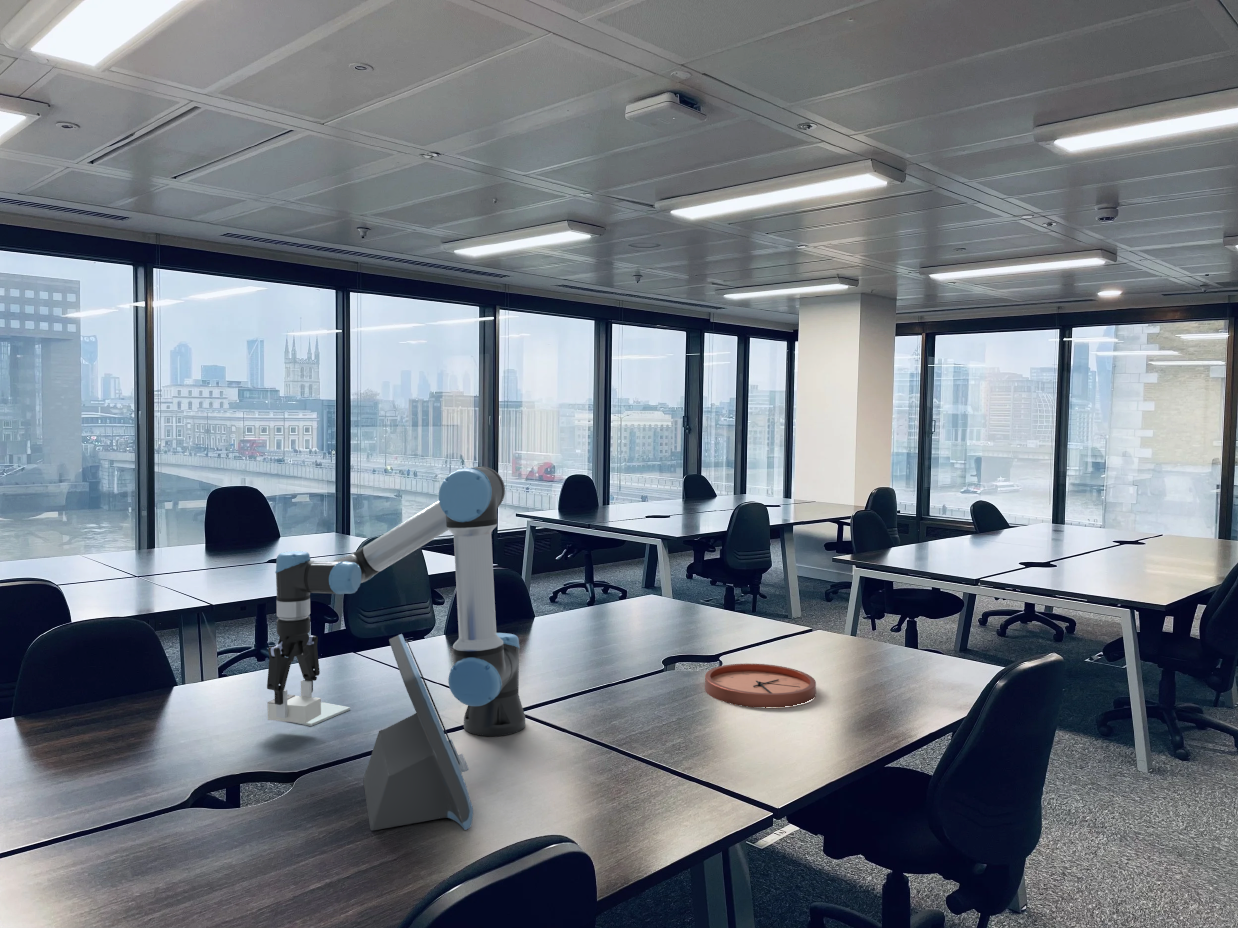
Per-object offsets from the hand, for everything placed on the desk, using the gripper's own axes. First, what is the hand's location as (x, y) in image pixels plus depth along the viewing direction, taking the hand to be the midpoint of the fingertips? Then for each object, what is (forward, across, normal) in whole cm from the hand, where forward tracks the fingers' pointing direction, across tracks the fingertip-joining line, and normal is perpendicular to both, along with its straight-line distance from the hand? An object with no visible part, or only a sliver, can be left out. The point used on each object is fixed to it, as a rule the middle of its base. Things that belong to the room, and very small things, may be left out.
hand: (294, 711), depth 206 cm
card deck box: (+1, 0, 0) cm, 1 cm away
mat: (+5, -13, -7) cm, 16 cm away
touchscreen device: (+6, +16, +48) cm, 51 cm away
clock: (+7, -85, +92) cm, 125 cm away
